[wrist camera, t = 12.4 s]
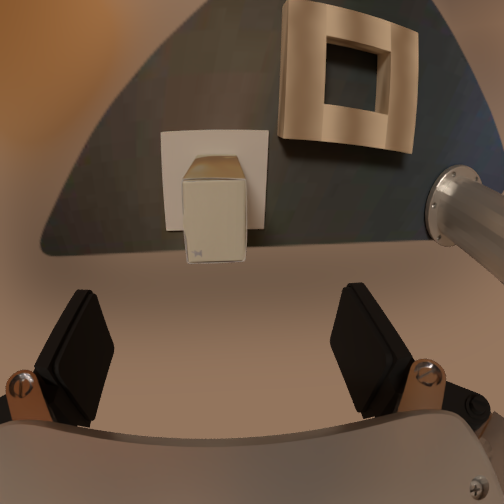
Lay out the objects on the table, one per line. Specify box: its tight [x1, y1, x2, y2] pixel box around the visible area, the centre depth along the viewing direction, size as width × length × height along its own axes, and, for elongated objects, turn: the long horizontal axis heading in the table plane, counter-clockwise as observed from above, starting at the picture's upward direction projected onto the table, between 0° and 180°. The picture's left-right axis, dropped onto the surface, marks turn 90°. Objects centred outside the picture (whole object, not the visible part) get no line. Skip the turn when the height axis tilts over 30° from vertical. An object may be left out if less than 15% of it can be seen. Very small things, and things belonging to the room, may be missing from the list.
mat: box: [161, 130, 269, 231], centre depth 30 cm, size 11×11×1 cm
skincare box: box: [181, 154, 247, 264], centre depth 24 cm, size 6×4×12 cm
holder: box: [277, 0, 418, 154], centre depth 24 cm, size 15×15×3 cm
